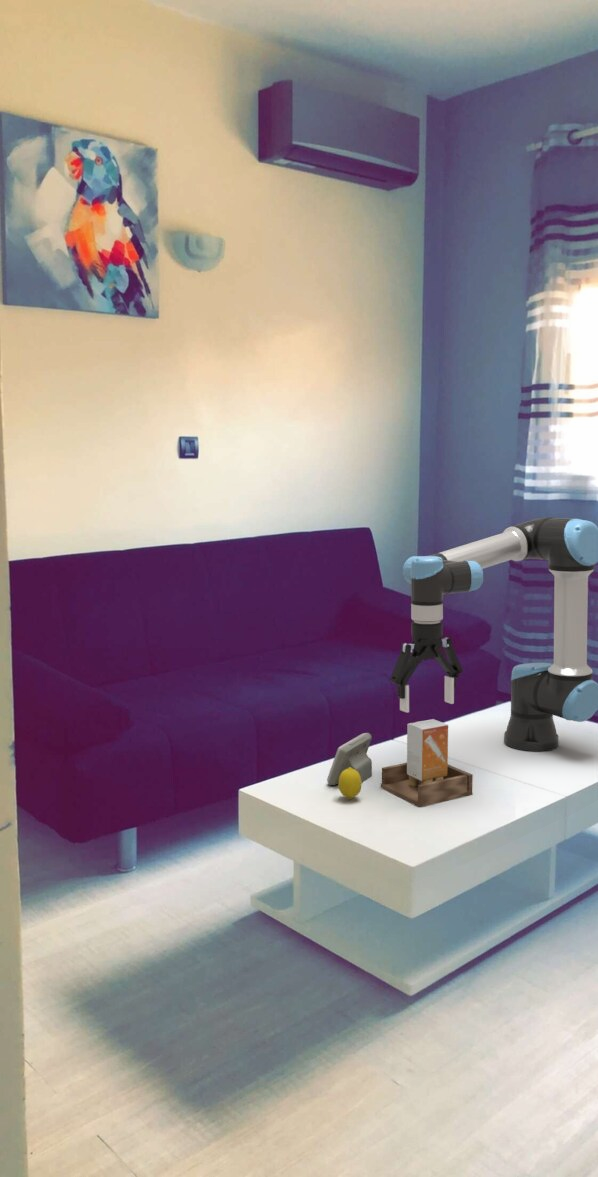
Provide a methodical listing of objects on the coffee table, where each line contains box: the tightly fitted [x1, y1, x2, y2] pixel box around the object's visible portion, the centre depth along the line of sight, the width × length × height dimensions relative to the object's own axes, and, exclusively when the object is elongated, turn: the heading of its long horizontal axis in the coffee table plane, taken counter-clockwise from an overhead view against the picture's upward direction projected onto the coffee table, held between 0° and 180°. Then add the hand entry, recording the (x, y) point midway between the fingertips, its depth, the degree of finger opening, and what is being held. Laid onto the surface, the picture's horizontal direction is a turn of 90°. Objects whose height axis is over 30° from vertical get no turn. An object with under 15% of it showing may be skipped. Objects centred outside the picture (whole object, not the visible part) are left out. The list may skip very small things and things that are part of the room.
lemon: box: [337, 767, 363, 800], centre depth 232 cm, size 6×6×8 cm
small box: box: [406, 718, 449, 781], centre depth 237 cm, size 8×6×13 cm
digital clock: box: [326, 732, 373, 786], centre depth 247 cm, size 16×9×11 cm, turn 138°
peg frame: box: [379, 762, 474, 808], centre depth 238 cm, size 16×16×5 cm
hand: (427, 707), depth 235 cm, fingers open, 13 cm apart
